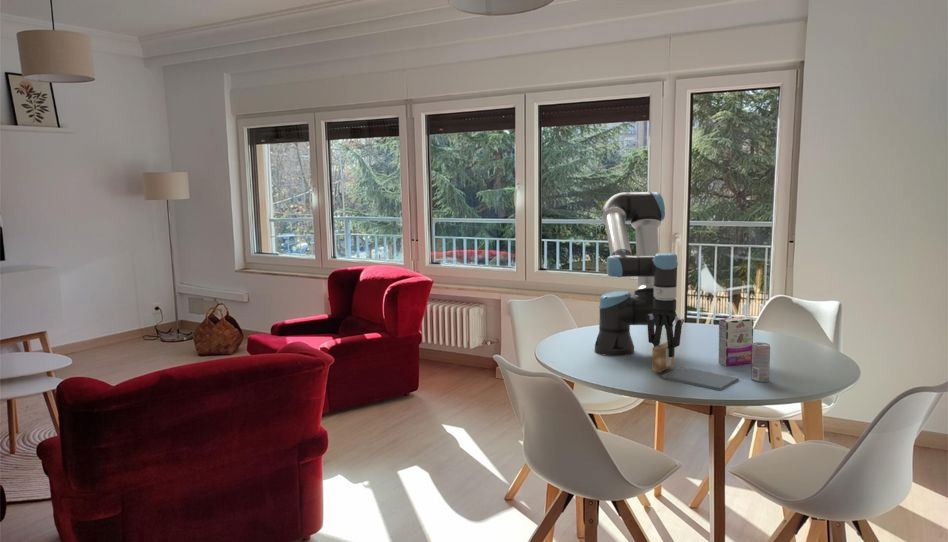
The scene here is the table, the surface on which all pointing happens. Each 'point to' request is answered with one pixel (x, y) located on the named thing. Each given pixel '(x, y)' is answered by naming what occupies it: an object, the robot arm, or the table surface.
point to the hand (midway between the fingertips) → (663, 364)
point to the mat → (700, 378)
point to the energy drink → (760, 362)
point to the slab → (660, 358)
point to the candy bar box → (735, 341)
